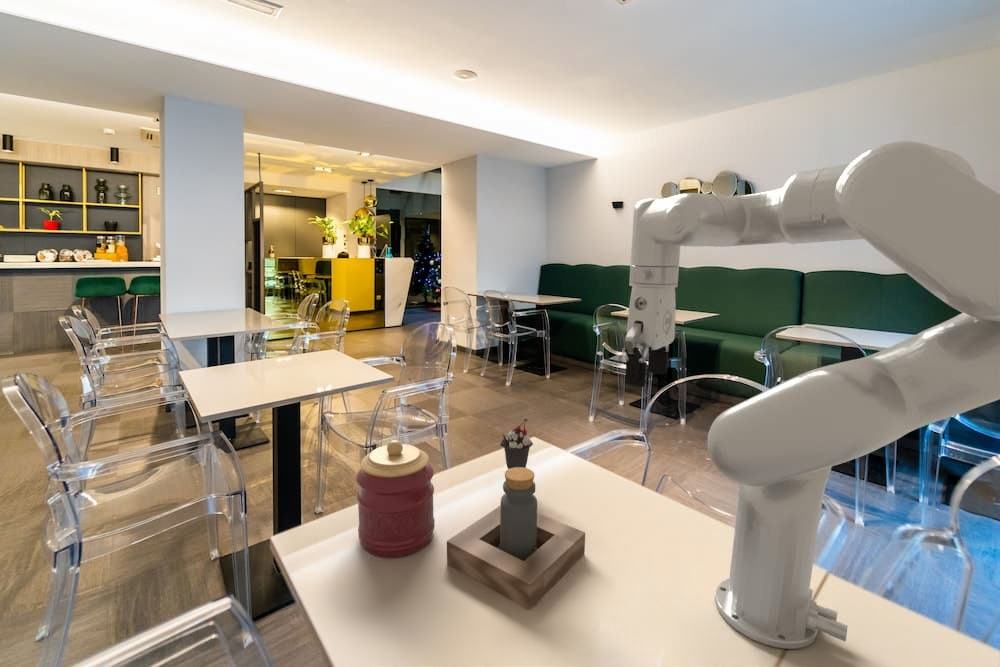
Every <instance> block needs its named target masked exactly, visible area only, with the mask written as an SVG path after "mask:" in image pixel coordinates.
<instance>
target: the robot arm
mask: <svg viewBox="0 0 1000 667" xmlns="http://www.w3.org/2000/svg"><path fill="white" fill-rule="evenodd" d="M632 220H633V221H632V222H633V223H632V233H631V234H632V236H631V250H630V251H631V255H630V266H629V268H630V269H629V284H628V285H629V286H630V287H632V288H631V293H630V298H629V305H628V313H627V314H628V316H627V326H626V335H625V337H624V344H625V348H624V350H625V354H626V355H625V360H626V362H625V364H626V365H625V379H624V382H625V384H626V385H630V386H635V387H639V388H643V387H645V386H646V383H647V372H649V373H651V374H657V375H663V376H664V375H666V374H667V372H668V360H669V351H670V344H672V343H673V342H674V340H675V334H676V306H677V304H676V288H678V284H679V283H678V282H679V268H680V256H681V255H680V254H681V247H716V248H717V247H724V248H725V247H739V246H754V245H755V246H756V245H768V244H769V245H771V244H782V243H784V244H785V243H788V244H791V245H795V244H810V243H824V242H838V241H839V242H841V241H855V240H865V241H866V242H867V243H868V244H869V245H870V246H872V247H873V248H874V249H875V250H877V251H878V252H879V253H880V254H881V255H882V256H884V257H885V258H886V259H888V260H889V261H890V262H892V263H893V264H894V265H895V266H897V267H898V268H900V269H901V270H902V271H904V273H906V274H907V275H908V276H909V277H911V279H913V280H915V281H916V282H917V283H918V284H920V285H921V286H922V287H923V288H924V289H926V290H927V291H928V292H930V293H931V294H933V295H934V296H935V297H937V298H938V299H939V300H940V301H942V302H944V303H945V304H947V305H948V306H950V307H951V308H953V309H954V310H957V311H958V312H961V313H959V314H957V315H956V316H954V317H951V318H950V319H948V320H945V321H943V322H941V323H939V324H937V325H933V326H932V327H929V328H927V329H925V330H922V331H920V332H919V333H916V334H915V335H913V336H911V337H909V338H907V339H905V340H903V341H900V342H898V343H896V344H894V345H892V346H888V347H886V348H885V349H882V350H880V351H877V352H875V353H872V354H870V355H866V356H864V357H860V358H857V359H850V360H846V361H842V362H838V363H833V364H828V365H824V366H821V367H818V368H815V369H812V370H809V371H808V370H807V371H806V372H803V373H801V374H798V375H796V376H794V377H792V378H790V379H787V380H785V381H783V382H781V383H779V384H777V385H775V386H773V387H771V388H769V389H767V390H765V391H762V392H760V393H758V394H756V395H754V396H752V397H750V398H748V399H745V400H744V401H742V402H740V403H738V404H735V405H733V406H731V407H729V408H727V409H725V410H724V411H723V412H721V413H720V414H719V415H718V416H717V417H716V418H715V419H714V420H713V422H712V424H711V426H710V427H709V431H708V434H707V441H706V442H707V450H708V455H709V458H710V460H711V462H712V463H713V465H714V466H715V467H716V469H718V471H719V472H720V473H721V474H722V475H724V476H725V477H727V478H728V479H729V480H731V481H734V482H736V483H738V484H740V486H739V490H738V492H739V493H738V499H737V506H736V515H735V524H734V534H733V542H732V550H731V551H732V552H731V560H730V571H729V578H727V579H725V580H723V581H721V582H720V583H719V584H718V585H717V587H716V590H715V595H714V596H715V597H714V598H715V604H716V608H717V610H718V612H719V613H720V615H721V617H723V618H724V620H725V621H726V622H727V623H728V624H729V625H730V626H732V628H734V629H735V630H737V631H738V632H740V633H741V634H743V635H744V636H746V637H748V638H749V639H751V640H754V641H756V642H758V643H761V644H764V645H766V646H770V647H773V648H780V649H785V650H786V649H789V650H790V649H791V650H792V649H793V650H794V649H802V648H805V647H808V646H810V645H811V644H812V643H814V642H815V641H816V638H817V636H818V631H820V632H822V633H825V634H828V635H829V636H831V637H833V638H836V639H838V640H841V641H843V642H846V641H847V634H848V625H847V624H845V623H842V622H840V621H837V618H838V611H835V610H833V609H830V608H829V607H824V606H821V605H819V604H818V603H817V602H816V601H814V600H812V599H813V594H814V593H813V592H814V590H813V589H812V588H810V586H811V582H812V574H813V566H814V559H815V552H816V546H817V539H818V532H819V525H820V520H821V513H822V507H823V502H824V501H823V500H824V495H825V491H826V487H827V483H828V479H829V477H830V476H829V475H830V473H831V470H832V467H835V466H838V465H841V464H843V463H847V462H849V461H852V460H854V459H855V460H856V459H858V458H861V457H863V456H866V455H869V454H870V453H872V452H875V451H877V450H879V449H881V448H882V447H885V446H888V445H889V444H891V443H894V442H895V441H897V440H899V439H900V438H902V437H904V436H905V435H907V434H909V433H910V432H913V431H915V430H918V429H920V428H922V427H925V426H928V425H931V424H934V423H936V422H939V421H943V420H945V419H949V418H951V417H955V416H958V415H961V414H963V413H966V412H968V411H971V410H975V409H976V408H980V407H982V406H986V405H988V404H990V403H993V402H996V401H998V400H1000V193H998V192H997V191H996V190H994V189H992V188H990V187H989V186H987V185H985V184H983V183H982V182H980V181H979V180H977V175H976V173H975V170H974V168H973V167H972V165H971V164H970V163H969V161H967V160H966V159H965V158H964V157H962V156H960V155H959V154H958V153H955V152H953V151H950V150H946V149H944V148H939V147H936V146H933V145H930V144H927V143H921V142H916V141H905V140H904V141H894V142H887V143H885V144H882V145H879V146H876V147H873V148H871V149H868V150H867V151H866V152H864V153H862V154H861V155H859V156H858V157H856V158H855V159H854V160H852V161H851V162H850V163H846V164H841V165H834V166H829V167H824V168H823V167H822V168H816V169H811V170H810V169H809V170H804V171H800V172H797V173H795V174H792V176H790V177H789V178H788V179H787V180H786V181H785V183H784V185H783V186H782V187H781V188H777V189H774V190H769V191H768V190H767V191H763V192H756V193H751V194H743V195H736V196H730V195H729V196H727V195H720V194H711V193H699V192H698V193H697V192H686V193H679V194H676V195H672V196H670V197H666V198H665V197H658V198H655V197H654V198H652V197H651V198H645V199H642V200H639V201H637V202H636V203H635V206H634V208H633V218H632ZM650 348H651V349H650ZM640 350H641V351H640ZM647 354H648V355H647ZM647 356H648V363H647V361H646V357H647Z"/></svg>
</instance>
